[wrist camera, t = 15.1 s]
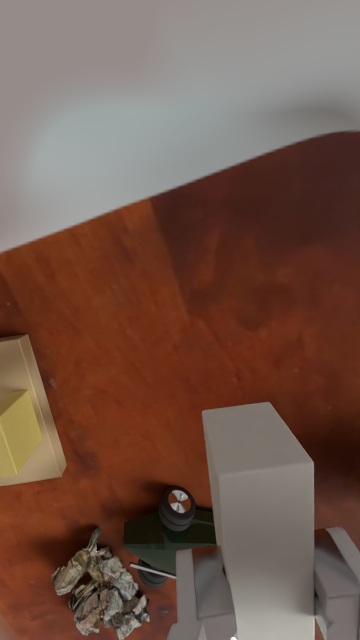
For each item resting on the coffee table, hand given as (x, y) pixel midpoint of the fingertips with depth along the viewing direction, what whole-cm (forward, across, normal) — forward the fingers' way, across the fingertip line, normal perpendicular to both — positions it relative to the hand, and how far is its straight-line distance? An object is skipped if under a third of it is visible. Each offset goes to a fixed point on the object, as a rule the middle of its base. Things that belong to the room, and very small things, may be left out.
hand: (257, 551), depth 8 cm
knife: (+2, 0, +6) cm, 6 cm away
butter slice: (+14, +16, +2) cm, 21 cm away
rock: (+16, +13, +25) cm, 33 cm away
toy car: (+16, +1, +20) cm, 26 cm away
